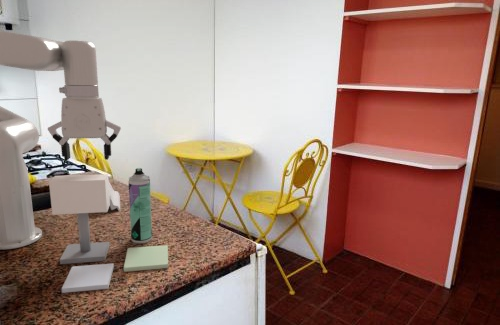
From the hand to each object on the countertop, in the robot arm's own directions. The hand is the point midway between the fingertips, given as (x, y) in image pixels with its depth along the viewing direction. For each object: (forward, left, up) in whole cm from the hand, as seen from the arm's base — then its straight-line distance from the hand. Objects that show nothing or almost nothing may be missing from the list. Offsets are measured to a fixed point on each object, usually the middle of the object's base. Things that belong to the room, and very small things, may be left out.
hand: (87, 158), depth 96 cm
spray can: (+13, -3, -22) cm, 26 cm away
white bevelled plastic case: (0, +27, -23) cm, 35 cm away
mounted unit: (0, -10, -22) cm, 24 cm away
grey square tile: (+3, -22, -22) cm, 31 cm away
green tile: (+15, -15, -22) cm, 31 cm away
